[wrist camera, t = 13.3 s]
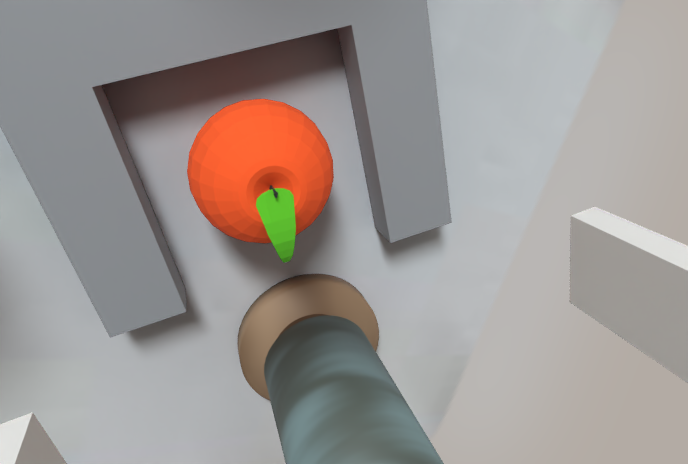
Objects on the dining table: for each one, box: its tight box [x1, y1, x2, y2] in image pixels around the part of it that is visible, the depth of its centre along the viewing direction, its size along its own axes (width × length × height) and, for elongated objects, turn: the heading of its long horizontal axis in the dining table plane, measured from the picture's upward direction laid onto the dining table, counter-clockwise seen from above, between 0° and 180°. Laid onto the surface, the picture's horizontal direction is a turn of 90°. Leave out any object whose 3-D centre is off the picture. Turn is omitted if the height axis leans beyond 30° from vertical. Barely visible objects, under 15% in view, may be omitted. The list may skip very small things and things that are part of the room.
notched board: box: [0, 0, 452, 337], centre depth 25 cm, size 20×16×2 cm
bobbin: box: [238, 274, 444, 464], centre depth 24 cm, size 9×9×18 cm
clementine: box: [187, 99, 334, 263], centre depth 24 cm, size 8×7×7 cm
